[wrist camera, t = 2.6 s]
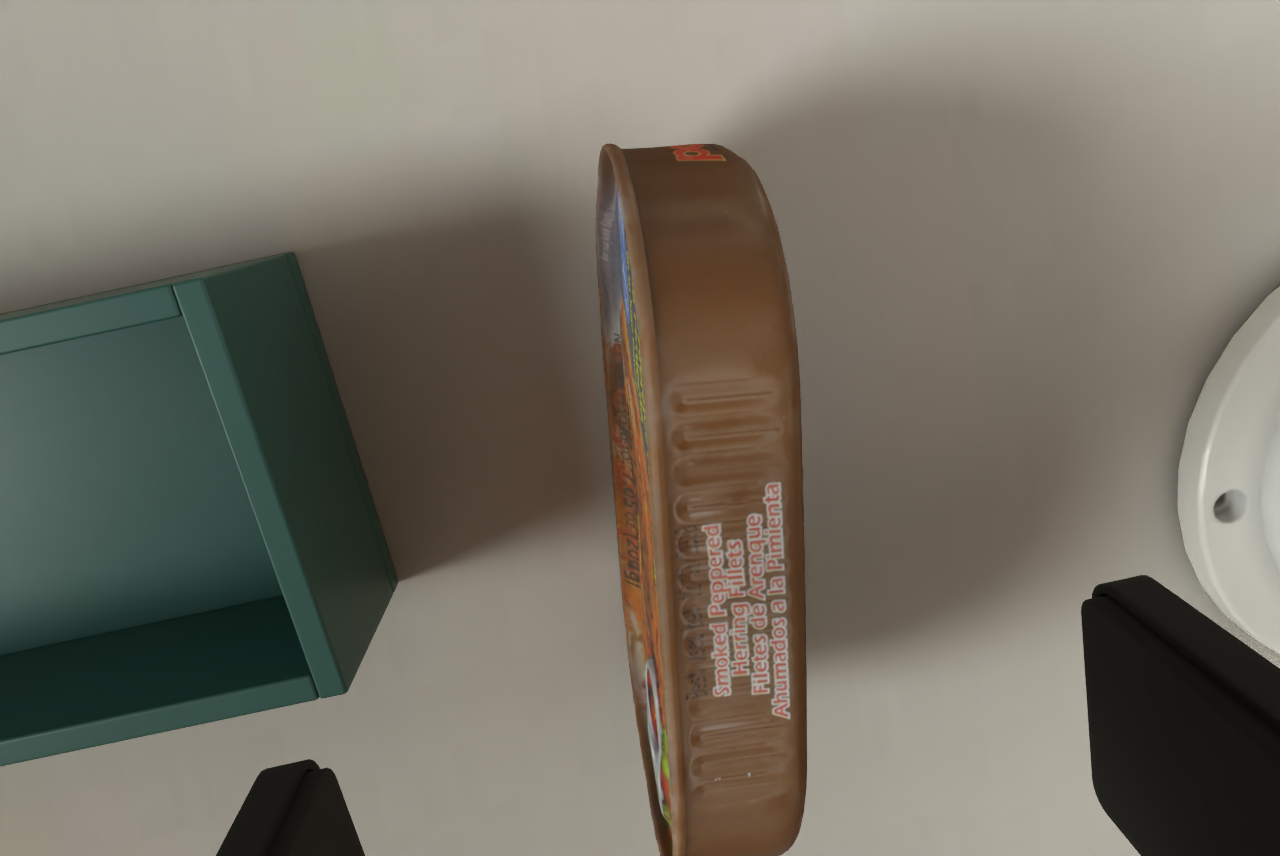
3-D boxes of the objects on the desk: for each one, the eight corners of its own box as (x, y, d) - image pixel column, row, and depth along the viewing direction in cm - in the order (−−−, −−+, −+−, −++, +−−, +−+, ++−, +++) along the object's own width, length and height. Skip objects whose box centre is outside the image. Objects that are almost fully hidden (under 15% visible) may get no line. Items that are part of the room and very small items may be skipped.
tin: (587, 149, 20) (584, 137, 12) (724, 140, 20) (810, 123, 12) (630, 717, 25) (649, 986, 16) (743, 707, 25) (817, 971, 17)
